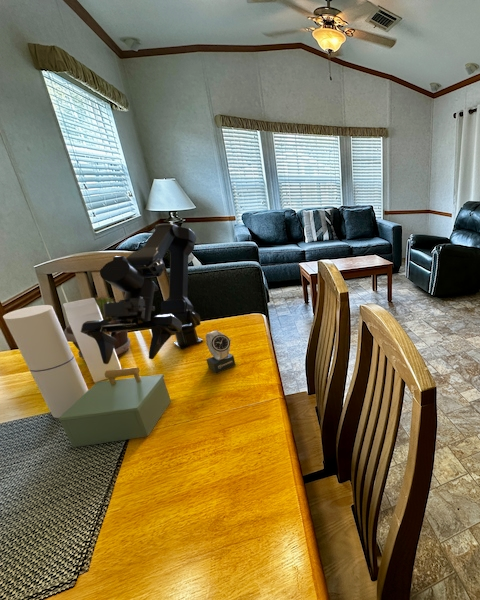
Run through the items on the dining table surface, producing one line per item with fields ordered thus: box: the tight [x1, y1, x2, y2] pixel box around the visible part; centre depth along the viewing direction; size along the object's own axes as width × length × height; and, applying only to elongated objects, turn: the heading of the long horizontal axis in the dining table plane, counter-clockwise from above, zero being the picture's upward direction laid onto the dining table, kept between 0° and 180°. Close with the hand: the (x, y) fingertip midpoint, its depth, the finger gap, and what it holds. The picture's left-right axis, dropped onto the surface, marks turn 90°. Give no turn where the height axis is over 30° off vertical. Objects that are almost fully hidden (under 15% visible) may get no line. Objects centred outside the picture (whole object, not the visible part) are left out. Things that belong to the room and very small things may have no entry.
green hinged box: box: [59, 377, 172, 448], centre depth 72 cm, size 12×14×7 cm
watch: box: [205, 330, 236, 375], centre depth 91 cm, size 6×8×11 cm
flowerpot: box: [63, 292, 132, 360], centre depth 97 cm, size 14×15×20 cm
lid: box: [58, 366, 165, 421], centre depth 70 cm, size 12×14×4 cm
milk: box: [62, 297, 122, 384], centre depth 87 cm, size 6×6×22 cm
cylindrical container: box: [2, 304, 89, 419], centre depth 73 cm, size 7×7×25 cm
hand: (128, 361), depth 75 cm, fingers open, 9 cm apart
